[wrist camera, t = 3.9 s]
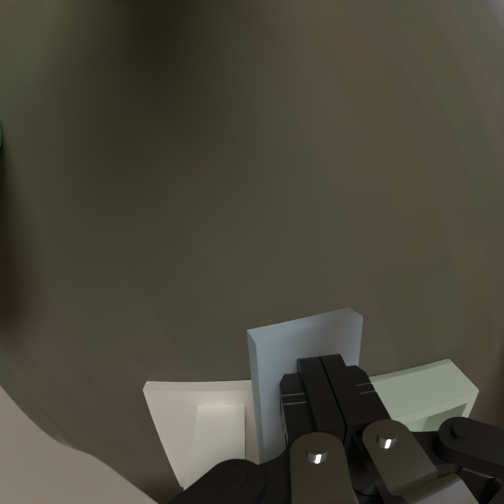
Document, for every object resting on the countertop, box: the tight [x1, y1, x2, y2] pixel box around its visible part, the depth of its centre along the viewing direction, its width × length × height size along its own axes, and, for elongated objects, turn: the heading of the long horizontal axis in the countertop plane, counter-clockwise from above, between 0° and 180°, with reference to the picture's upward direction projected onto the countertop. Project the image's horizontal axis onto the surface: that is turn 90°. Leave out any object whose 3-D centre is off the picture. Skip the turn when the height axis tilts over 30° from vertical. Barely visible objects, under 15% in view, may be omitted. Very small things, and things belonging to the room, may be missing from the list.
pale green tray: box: [369, 358, 479, 432], centre depth 18 cm, size 10×10×4 cm
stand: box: [143, 380, 259, 491], centre depth 15 cm, size 10×12×10 cm
